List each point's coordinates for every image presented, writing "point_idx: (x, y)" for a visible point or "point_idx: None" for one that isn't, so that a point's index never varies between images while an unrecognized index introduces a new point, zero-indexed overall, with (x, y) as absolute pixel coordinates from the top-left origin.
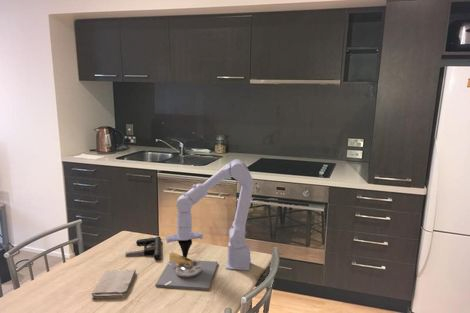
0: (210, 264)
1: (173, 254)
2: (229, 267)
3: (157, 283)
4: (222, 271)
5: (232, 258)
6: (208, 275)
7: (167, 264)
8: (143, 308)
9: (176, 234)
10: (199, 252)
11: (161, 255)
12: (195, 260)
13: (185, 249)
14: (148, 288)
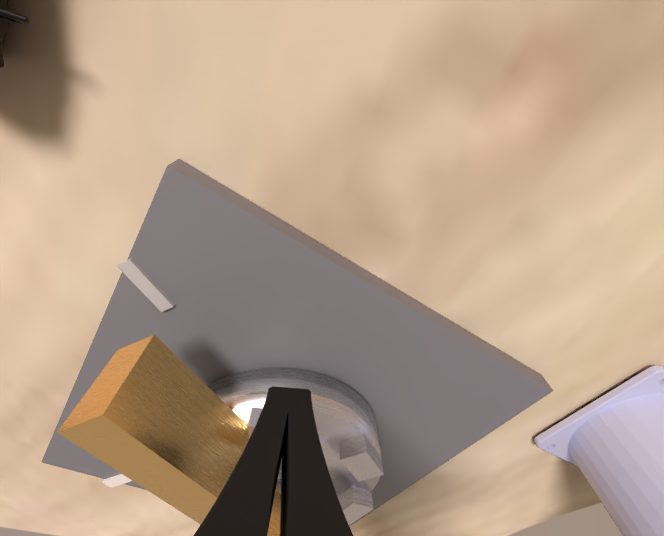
0: (479, 403)
1: (118, 460)
2: (556, 448)
3: (54, 459)
4: (494, 444)
5: (619, 528)
6: (384, 482)
7: (122, 277)
8: (20, 529)
9: None
10: (596, 98)
11: (3, 15)
12: (362, 464)
13: (282, 527)
14: (9, 444)
